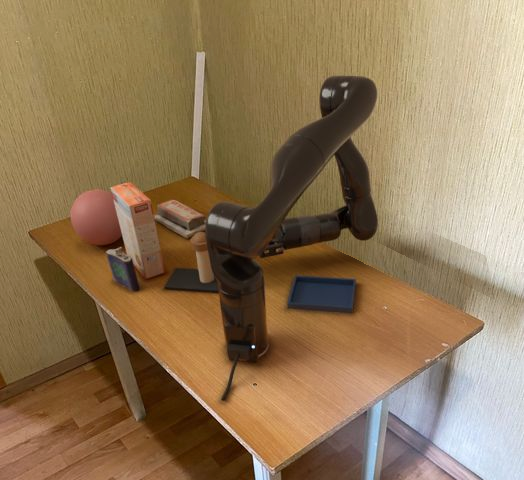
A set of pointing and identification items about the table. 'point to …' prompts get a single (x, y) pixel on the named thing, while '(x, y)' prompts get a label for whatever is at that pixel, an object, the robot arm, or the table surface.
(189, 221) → the packaged product
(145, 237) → the cracker box
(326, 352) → the table surface
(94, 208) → the balloon
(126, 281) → the flask
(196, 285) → the mat
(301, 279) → the tray
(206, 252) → the mushroom
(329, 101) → the robot arm
